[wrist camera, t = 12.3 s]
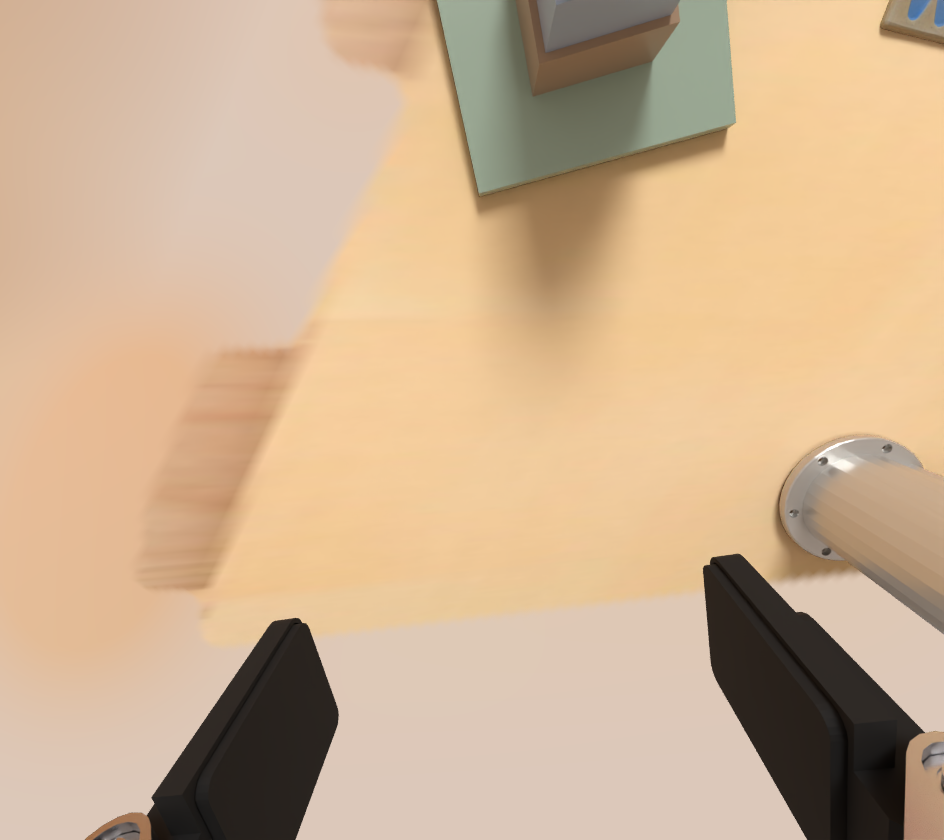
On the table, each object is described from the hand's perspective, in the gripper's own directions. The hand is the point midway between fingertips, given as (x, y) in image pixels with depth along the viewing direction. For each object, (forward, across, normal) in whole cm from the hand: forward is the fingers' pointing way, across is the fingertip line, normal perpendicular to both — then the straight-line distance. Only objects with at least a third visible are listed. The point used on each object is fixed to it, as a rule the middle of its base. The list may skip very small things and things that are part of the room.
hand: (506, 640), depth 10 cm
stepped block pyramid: (+32, -11, -26) cm, 43 cm away
